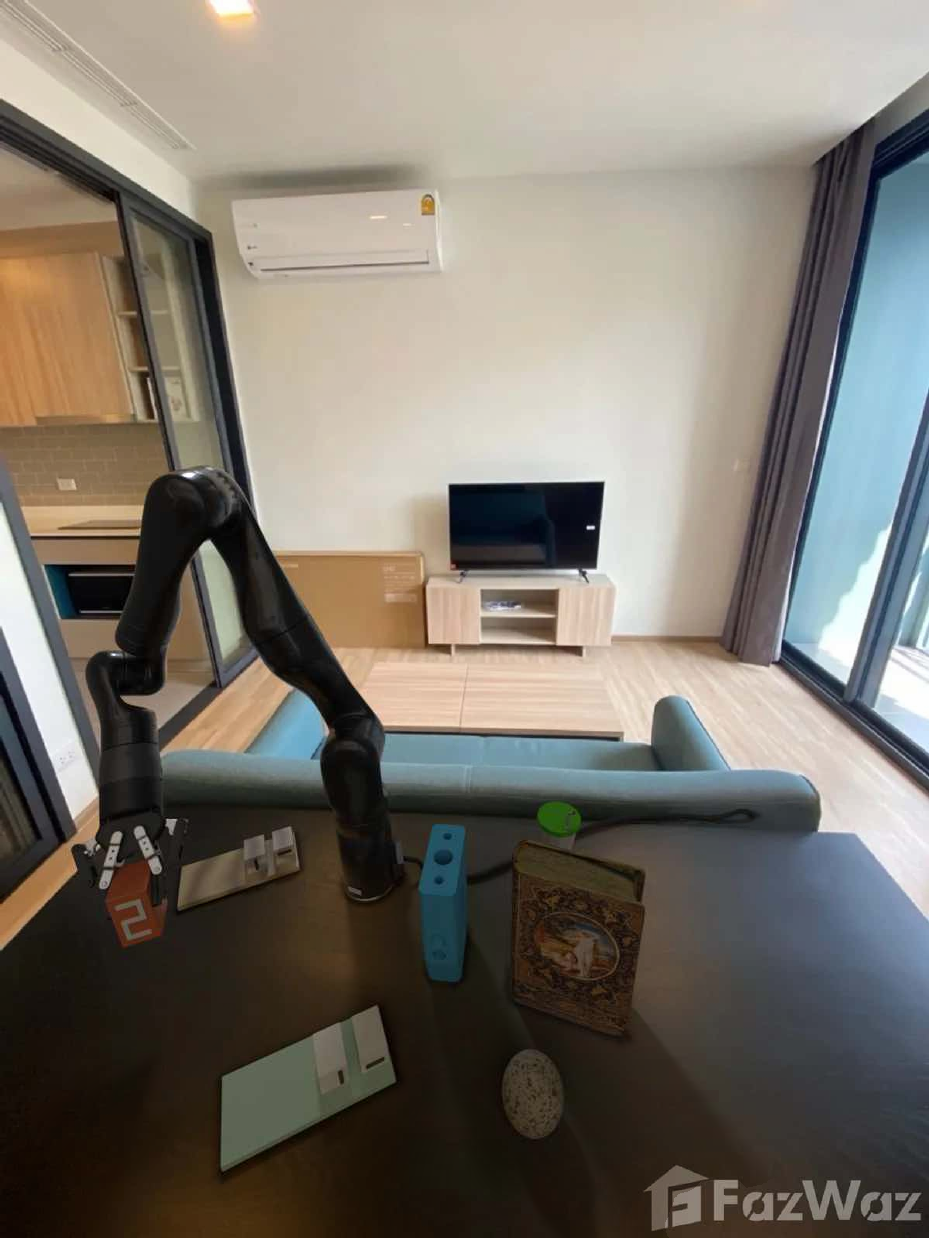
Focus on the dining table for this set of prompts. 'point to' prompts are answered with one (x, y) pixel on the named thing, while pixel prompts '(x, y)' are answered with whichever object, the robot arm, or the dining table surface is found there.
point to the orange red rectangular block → (134, 904)
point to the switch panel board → (302, 1085)
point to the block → (444, 902)
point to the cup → (558, 824)
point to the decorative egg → (532, 1094)
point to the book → (575, 934)
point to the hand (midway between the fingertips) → (135, 911)
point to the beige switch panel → (239, 868)
